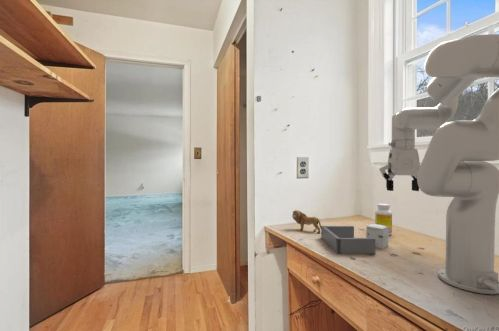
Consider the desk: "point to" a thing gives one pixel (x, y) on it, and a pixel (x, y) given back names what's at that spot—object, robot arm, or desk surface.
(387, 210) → the supplement bottle
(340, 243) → the grey u-shaped bracket
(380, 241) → the skincare box
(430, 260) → the desk surface
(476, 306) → the desk surface
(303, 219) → the lion figurine
